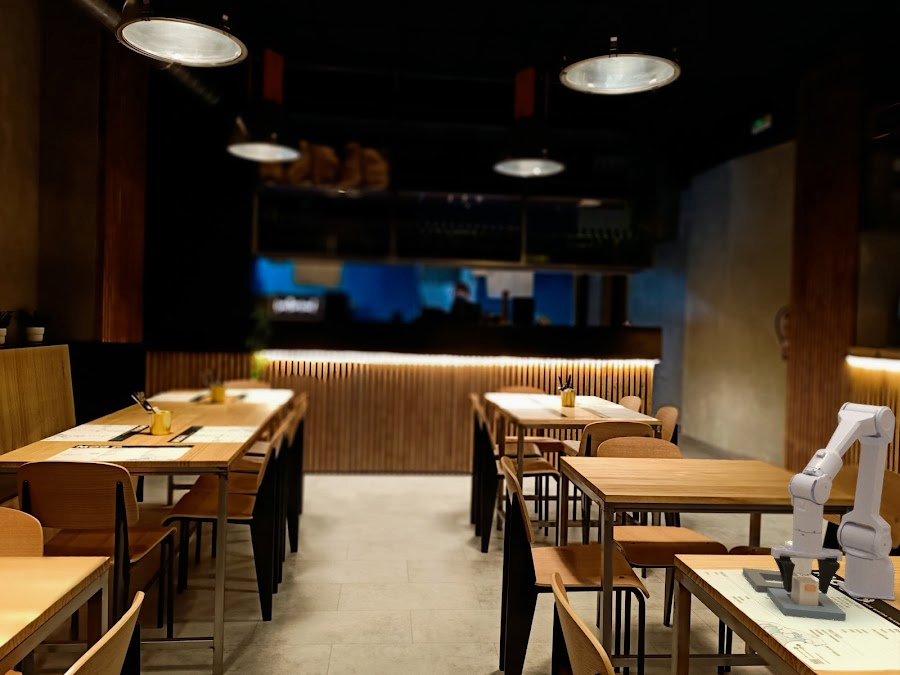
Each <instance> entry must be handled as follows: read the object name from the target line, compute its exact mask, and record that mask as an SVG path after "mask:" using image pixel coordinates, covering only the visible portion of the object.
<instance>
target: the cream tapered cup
mask: <svg viewBox="0 0 900 675" xmlns="http://www.w3.org/2000/svg"><path fill="white" fill-rule="evenodd" d="M792 540H793V539H792ZM792 540H791V539H788V540H784V545H783V546H792ZM790 560H792V562H793V563H794V564H795V567H794V571H793V572H794V573H796V574H797V575H798V574H802V575H801V576H808V575H807V574H810V575H811V574H812V569H813V561H814V559H803V558H790Z"/></svg>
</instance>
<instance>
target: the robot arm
mask: <svg viewBox="0 0 900 675" xmlns="http://www.w3.org/2000/svg"><path fill="white" fill-rule="evenodd" d="M837 423H838V426H837V427H836V429H835V430H834V432H833V434H832V436H831V438H830V439H829V441H828V444H827V445H826V447H825V448H820V449H818V450H816V452H815V453H814V455H813V456H812V458H811V459H810V460H809V462H808V464H806V466H805V468H804V469H803V470H802V472H798V473H797V474H794V475H793V476H792V477H791V478H790V481H789V483H788V486H787V490H788V491H787V492H788V494H789V496H790V504H791V506H792V507H793V515H792V518H793V519H792V521H793V522H792V546H785V545H783V546H771V549H770V550H771V551H770V556H771V557H773V559H774V561H775V563H776V566H777V567H778V571H780V573H781V577H782V581H781V582H782V583H783V586H784V589H785V590H786V591H787V592H791V591H792V576H793V571H794V567H795V564H794V563H793V562H792V560H790V558H803V559H813V560H817V565H818V566H817V568H818V583H819V592H822V593H823V594H826V595H827V593H828V591H829V588H830V585H831V582H832V581H833V578H834V576H835V574H836V573H837V572H838V571H839V570H840V569H841V568H840V567H841V563H840V562H843V557H844V556H843V554H844V553H843V552H845V562H844V582H839V581H838V582H837V585H838V587H840V588H841V589H842V590H844V591H845V592H846V593H847V594H848V595H849V596H850V597H857V598H865V599H866V598H868V599H869V598H870V599H880V600H891V601H896V597H895V594H894V593H895V565H894V562H893V560H892V559H891V558H890V557H889V556H888V555H889V554H890V552H891V550H892V546H893V541H892V534H891V530H892V529H891V528H892V527H891V525H890V524H889V523H888V522H887V521H886V520H885V519H884V518H883V517H882V516H881V515H880V510H881V503H882V502H881V501H882V494H883V492H882V491H883V484H884V476H885V469H886V460H887V459H886V458H887V454H888V444H890V443H893V441H894V440H893V439H894V435H895V434H894V433H895V426H896V425H895V424H896V416H895V415H894V413H893V411H892V409H891V408H890V407H889V406H886V405H885V406H884V405H882V406H880V405H871V404H862V403H853V402H847V401H846V402H845V403H844V404H843V405H842V406H841V407H840V409H839V411H838V413H837ZM856 440H858V441H859V443H860V445H861V446H860V448H861V449H860V455H859V465H858V472H857V481H856V488H855V496H854V503H853V504H854V505H853V509H852V510H850V511H849V512H847V513H845V514H843V515H842V518H841V522H840V525H839V527H838V529H837V532H836V537H837V542H838V544H839V546H841V547H842V551H843V552H842V551H841V550H839V549H832V548H825V547H823V521H824V520H823V519H824V504H825V503H826V502H827V501H828V500H829V498H830V495H831V489H832V487H833V481H834V478H835V477H836V476H837V474H838V473H839V472H840V470H841V469H842V467H843V466H844V465H843V464H844V462H843V459H842V457H843V456H844V455H845V453H847V451H849V449H850V447H851V446H852V445H853V444H854V443H855V441H856Z"/></svg>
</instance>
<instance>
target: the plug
mask: <svg viewBox="0 0 900 675" xmlns="http://www.w3.org/2000/svg"><path fill="white" fill-rule="evenodd" d="M819 592H820V591H819V581H816V580H815V579H814V578H813V577H811V576H807V575H798V576H792V591H791V600H792V601H793V602H794V604H799V605H810V606H818V596H819Z"/></svg>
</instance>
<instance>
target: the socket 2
mask: <svg viewBox="0 0 900 675" xmlns="http://www.w3.org/2000/svg"><path fill="white" fill-rule="evenodd" d="M766 594H767V595H768V597H769V598H770V599H771V600H772V602H773V603H774V604H775V605H776V607H777V608H778V609H779V610H780V612H781V613H782V614H783V615H784V616H788V617H789V616H790V617H797V618H798V617H800V618H810V619H820V620H821V619H822V620H830V619H834V620H833V621H840V620H846V621H847V618H846V617H847V616H846V615H847V614H846V612H845V611H844V610H842V608H840V607H839V605H837V604H836V602H834V601H833V600H832V599H831V598H830V597H829V596H828V595H827V594H823V593H822V592H821V591H819V596H818V606H810V605H799V604H794V602H793V601H792V600H791V592H787V591H786V590H785V589H777V588H767V593H766Z"/></svg>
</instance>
